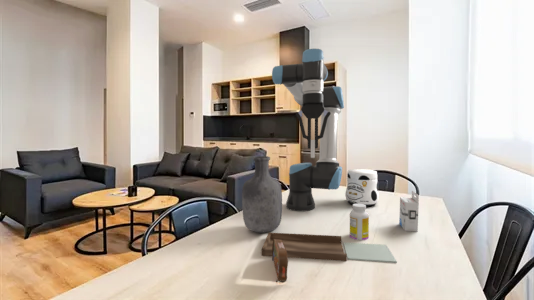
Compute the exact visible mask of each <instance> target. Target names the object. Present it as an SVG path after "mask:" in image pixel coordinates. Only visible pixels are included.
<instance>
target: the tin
mask: <svg viewBox="0 0 534 300" xmlns="http://www.w3.org/2000/svg"><path fill="white" fill-rule="evenodd" d="M271 260H272V262H273V264H274V269H275V273H276V277H277V279H276V281H275V282H286V281H287V279H288V268H289V258H288V256H287V251H286V248H285V245H284V243H283V241H282V240H278V239H274V240H273V245H272V256H271Z"/></svg>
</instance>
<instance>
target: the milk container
mask: <svg viewBox="0 0 534 300" xmlns="http://www.w3.org/2000/svg"><path fill="white" fill-rule="evenodd" d="M346 175H347V176H346V177H347V178H346V179H347V181H346V183H347V184H346V190H345V193H344V194H345V200H346V201H347V203H349V204H351V205H353V204H364V205H366V207H368V206H369V207H370V206H375V205H376V204H378V202H379V198H380V193H379V190H378V171H376V170H372V169H361V168H359V169H357V168H356V169H348V170H347V174H346Z"/></svg>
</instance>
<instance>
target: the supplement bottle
mask: <svg viewBox="0 0 534 300" xmlns="http://www.w3.org/2000/svg"><path fill="white" fill-rule="evenodd" d="M366 209H367V206H366V205H364V204H352V210H351V211H350V212H349V238H351V239H353V240H355V241H356V240H357V241H366V240H368V239H369V236H370V235H369V234H370V233H369V232H370V231H369V230H370V227H369V226H370V225H369V224H370V222H369V221H370V220H369V219H370V218H369V217H370V215H369V213H368V212H367V211H366Z"/></svg>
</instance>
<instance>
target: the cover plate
mask: <svg viewBox="0 0 534 300" xmlns="http://www.w3.org/2000/svg"><path fill="white" fill-rule="evenodd" d="M343 248H344V252H345V253H346V254H347V260H348V261H349V260H350V261H361V262H376V263H377V262H378V263H394V264H397V263H398V261H397V259H396V258H395V256H394V254H393V253H392V252H391V250H390V248H389V247H388V245H387V244H378V243H363V242H345V241H344V242H343Z"/></svg>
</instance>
